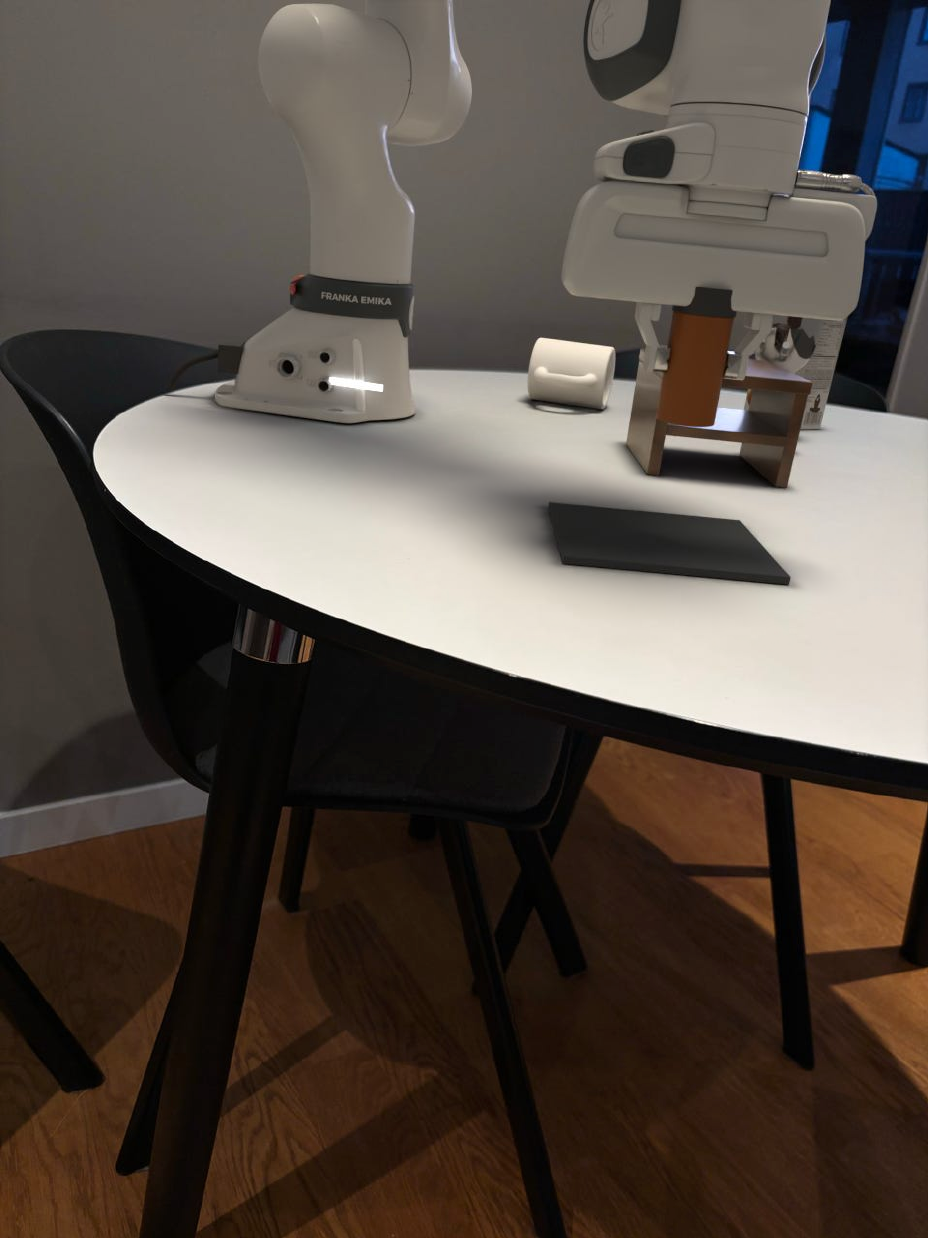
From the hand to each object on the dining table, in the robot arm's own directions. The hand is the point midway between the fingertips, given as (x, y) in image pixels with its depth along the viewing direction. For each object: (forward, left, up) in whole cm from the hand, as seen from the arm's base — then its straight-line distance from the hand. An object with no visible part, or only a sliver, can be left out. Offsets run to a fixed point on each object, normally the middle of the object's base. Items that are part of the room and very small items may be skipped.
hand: (692, 374), depth 70 cm
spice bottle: (0, 0, -3) cm, 3 cm away
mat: (0, 0, -13) cm, 13 cm away
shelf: (+10, +30, -13) cm, 34 cm away
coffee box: (+28, +62, -13) cm, 69 cm away
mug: (-2, +58, -13) cm, 60 cm away
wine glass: (+23, +52, -13) cm, 58 cm away
